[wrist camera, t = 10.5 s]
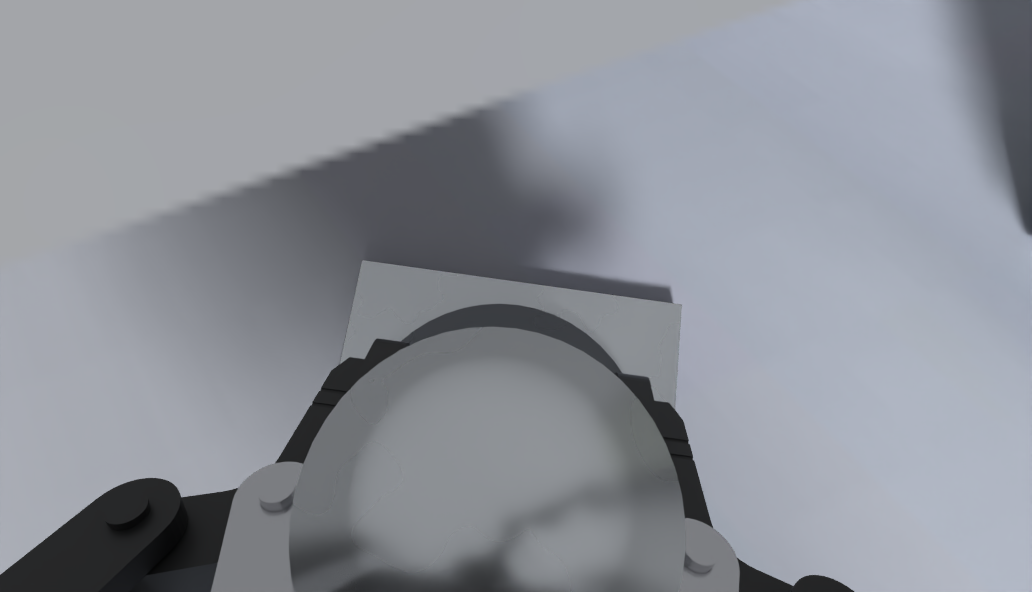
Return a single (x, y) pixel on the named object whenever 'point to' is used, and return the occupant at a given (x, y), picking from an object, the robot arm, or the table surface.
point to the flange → (516, 318)
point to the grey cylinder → (488, 476)
